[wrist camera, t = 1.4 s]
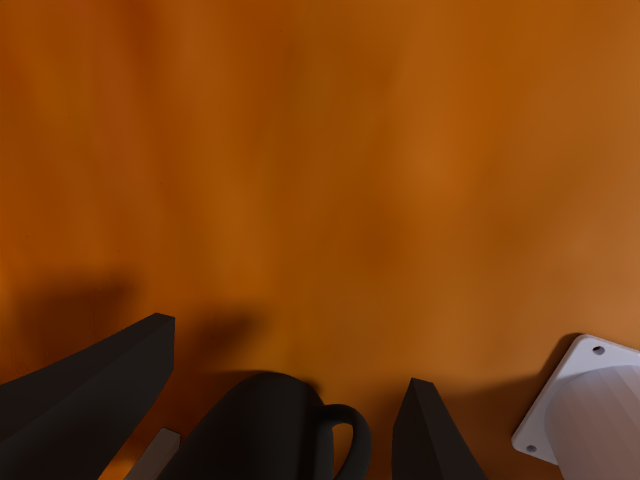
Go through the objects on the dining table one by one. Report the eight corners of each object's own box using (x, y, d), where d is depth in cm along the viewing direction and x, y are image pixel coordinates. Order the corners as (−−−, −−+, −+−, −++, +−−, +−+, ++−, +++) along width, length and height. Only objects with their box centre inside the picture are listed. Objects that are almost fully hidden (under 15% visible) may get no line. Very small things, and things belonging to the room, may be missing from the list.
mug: (273, 478, 27) (204, 674, 18) (192, 386, 26) (71, 548, 17) (419, 421, 23) (428, 643, 14) (331, 307, 21) (273, 468, 12)
